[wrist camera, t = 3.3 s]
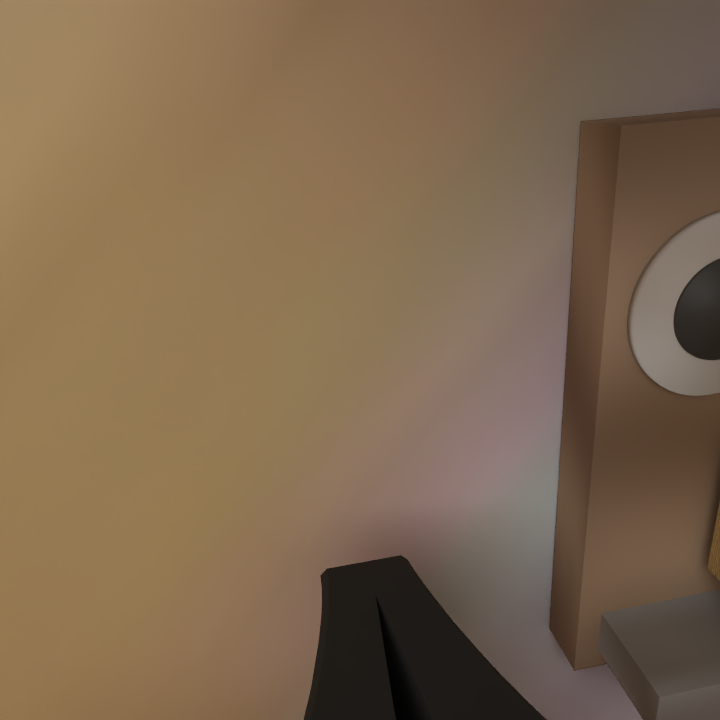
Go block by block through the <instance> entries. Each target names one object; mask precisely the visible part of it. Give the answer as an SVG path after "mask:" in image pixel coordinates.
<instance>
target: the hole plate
mask: <svg viewBox="0 0 720 720" xmlns="http://www.w3.org/2000/svg"><path fill="white" fill-rule="evenodd" d="M719 501H720V109H709V110H698V111H687V112H677V113H666V114H655V115H645V116H634V117H623V118H612V119H602V120H591V121H581V131H580V147H579V163H578V179H577V195H576V211H575V227H574V243H573V259H572V275H571V291H570V307H569V323H568V339H567V355H566V372H565V388H564V404H563V420H562V436H561V452H560V468H559V484H558V500H557V516H556V532H555V548H554V564H553V580H552V596H551V612H550V630H551V631H552V633H553V635H554V636H555V638H556V640H557V642H558V643H559V645H560V647H561V649H562V650H563V652H564V654H565V655H566V657H567V659H568V661H569V662H570V664H571V666H572V668H573V669H574V671H575V670H580V669H585V668H589V667H594V666H599V665H603V664H608V666H609V667H610V669H611V670H612V672H613V673H614V675H615V676H616V678H617V680H618V681H619V683H620V684H621V686H622V687H623V689H624V690H625V692H626V694H627V695H628V697H629V698H630V700H631V701H632V703H633V704H634V706H635V708H636V709H637V711H638V712H639V714H640V715H641V717H642V718H643V720H720V581H719V580H718V578H717V577H716V576H715V575H714V574H713V573H712V572H711V571H710V570H709V569H708V568H707V566H708V561H709V555H710V550H711V544H712V539H713V534H714V528H715V523H716V518H717V512H718V507H719Z"/></svg>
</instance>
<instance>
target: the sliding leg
mask: <svg viewBox="0 0 720 720" xmlns="http://www.w3.org/2000/svg"><path fill="white" fill-rule="evenodd" d="M707 568H708V569H709V570H710V571H711V572H712V573H713V574H714V575H715V576H716V577H717V578H718V580H719V581H720V501H719V507H718V512H717V518H716V523H715V528H714V534H713V539H712V544H711V550H710V555H709V561H708V566H707Z"/></svg>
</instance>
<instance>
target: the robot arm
mask: <svg viewBox="0 0 720 720" xmlns="http://www.w3.org/2000/svg"><path fill="white" fill-rule="evenodd" d="M321 584H322V615H321V626H320V636H319V644H318V650H317V656H316V662H315V668H314V674H313V680H312V686H311V691H310V695H309V700H308V704H307V708H306V713H305V717H304V720H546V719H545V718H544V717H543V716H542V715H541V714H540V713H539V712H538V711H537V710H536V709H535V708H534V707H533V706H532V705H531V704H530V703H528V702H527V701H526V700H525V699H524V698H523V697H522V696H521V695H520V694H519V693H518V692H517V690H516V689H515V688H514V687H513V686H512V685H511V684H510V683H509V682H508V681H507V680H506V679H505V678H504V677H503V676H502V675H501V674H500V673H499V672H498V671H497V670H496V669H495V668H494V667H493V666H492V665H491V664H490V663H489V661H488V660H487V659H486V658H485V657H484V656H483V655H482V654H481V653H480V651H479V650H478V649H477V648H476V647H475V646H474V645H473V644H472V642H471V641H470V640H469V639H468V638H467V637H466V636H465V634H464V633H463V632H462V631H461V630H460V629H459V628H458V626H457V625H456V624H455V623H454V622H453V620H452V619H451V618H450V617H449V616H448V614H447V613H446V612H445V611H444V609H443V608H442V607H441V606H440V604H439V603H438V602H437V600H436V599H435V598H434V597H433V595H432V594H431V593H430V591H429V590H428V589H427V587H426V586H425V585H424V583H423V582H422V580H421V579H420V578H419V576H418V575H417V573H416V572H415V570H414V569H413V567H412V566H411V564H410V563H409V561H408V560H407V559H405V558H404V557H403V556H395V557H390V558H384V559H379V560H373V561H368V562H362V563H356V564H351V565H345V566H340V567H334V568H329V569H326V570H325V571H324V573H323V574H322V575H321Z"/></svg>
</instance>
